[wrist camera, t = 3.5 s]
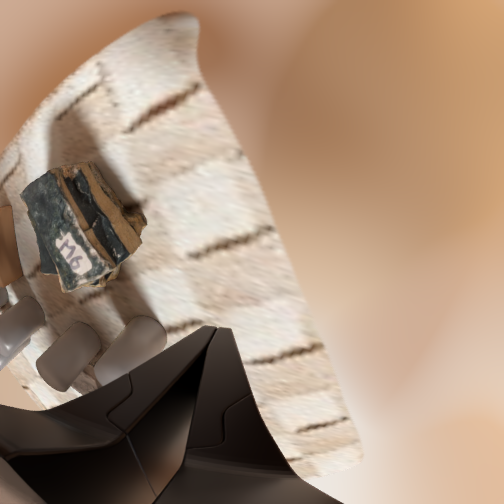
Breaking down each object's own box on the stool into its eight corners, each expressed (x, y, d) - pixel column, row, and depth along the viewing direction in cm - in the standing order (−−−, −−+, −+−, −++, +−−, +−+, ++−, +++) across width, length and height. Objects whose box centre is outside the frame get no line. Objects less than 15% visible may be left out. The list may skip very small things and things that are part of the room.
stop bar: (22, 275, 24) (3, 287, 21) (14, 273, 24) (-5, 285, 21) (11, 205, 21) (-11, 213, 18) (3, 206, 21) (-19, 213, 19)
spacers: (174, 387, 25) (152, 435, 20) (7, 336, 27) (-22, 361, 22) (163, 307, 22) (130, 354, 17) (-13, 273, 24) (-48, 295, 19)
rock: (40, 202, 21) (-8, 218, 16) (116, 145, 19) (65, 149, 14) (82, 291, 23) (42, 323, 18) (165, 254, 21) (129, 289, 16)
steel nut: (98, 362, 26) (91, 371, 24) (109, 394, 27) (103, 403, 26) (69, 353, 26) (61, 361, 25) (80, 384, 28) (74, 393, 26)
